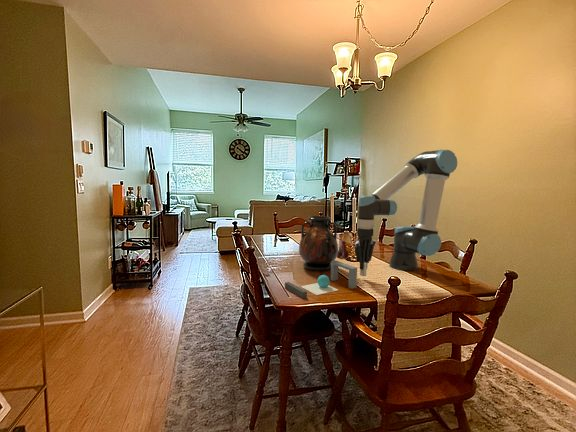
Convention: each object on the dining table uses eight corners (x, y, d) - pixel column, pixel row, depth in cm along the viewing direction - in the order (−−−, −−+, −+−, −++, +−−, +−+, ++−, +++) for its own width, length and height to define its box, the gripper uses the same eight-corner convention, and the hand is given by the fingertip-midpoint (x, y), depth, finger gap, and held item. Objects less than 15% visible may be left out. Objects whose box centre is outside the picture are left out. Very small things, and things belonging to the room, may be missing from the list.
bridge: (335, 278, 152) (335, 260, 151) (356, 287, 140) (357, 267, 139) (330, 279, 151) (331, 261, 149) (351, 288, 138) (352, 268, 137)
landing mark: (321, 282, 146) (321, 282, 146) (338, 290, 136) (338, 289, 136) (300, 286, 140) (300, 286, 140) (316, 295, 130) (316, 294, 130)
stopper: (288, 287, 139) (288, 281, 138) (306, 297, 127) (306, 291, 127) (284, 287, 138) (284, 282, 137) (302, 298, 126) (302, 292, 126)
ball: (313, 277, 140) (316, 287, 141) (321, 280, 135) (323, 291, 136) (323, 271, 142) (325, 282, 144) (330, 274, 137) (333, 285, 139)
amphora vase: (336, 263, 181) (338, 215, 178) (338, 274, 159) (340, 220, 156) (299, 261, 183) (300, 214, 180) (297, 272, 161) (298, 219, 158)
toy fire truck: (338, 259, 191) (339, 242, 190) (334, 254, 203) (334, 238, 202) (349, 259, 191) (350, 242, 190) (344, 254, 204) (345, 238, 203)
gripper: (369, 226, 156) (366, 271, 158) (349, 227, 149) (347, 275, 152) (380, 228, 149) (378, 275, 152) (361, 229, 143) (359, 279, 145)
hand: (363, 275), depth 152 cm, fingers closed
